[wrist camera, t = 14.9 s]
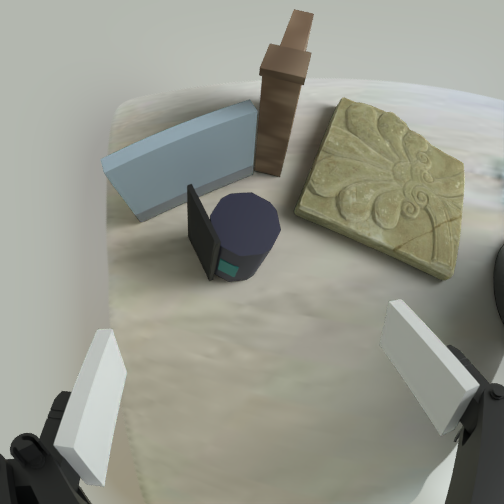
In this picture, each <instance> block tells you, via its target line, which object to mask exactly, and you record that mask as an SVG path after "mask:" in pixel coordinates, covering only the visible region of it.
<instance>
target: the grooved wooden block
mask: <svg viewBox="0 0 504 504" xmlns="http://www.w3.org/2000/svg"><path fill="white" fill-rule="evenodd" d="M313 15H314V14H312V13H308V12H304V11H299V10H294V11H293V13H292V16H291V19H290V21H289V24H288V26H287V29H286V31H285V34H284V37H283V39H282V42H281V44H280V46H279V45H274V44H270V45H269V47H268V49H267V52H266V54H265V57H264V59H263V62H262V64H261V66H260V73H259V75H260V76H262V85H261V97H260V109H259V120H258V132H257V144H256V156H255V168H254V171H259V172H263V173H267V174H271V175H275V176H279V177H280V175H281V171H282V167H283V163H284V159H285V155H286V151H287V147H288V142H289V138H290V134H291V129H292V125H293V121H294V116H295V112H296V108H297V103H298V99H299V95H300V90H301V86H302V85H304V82H305V78H306V74H307V70H308V66H309V62H310V57H311V53H310V52H306V48H307V44H308V39H309V34H310V29H311V25H312V20H313Z"/></svg>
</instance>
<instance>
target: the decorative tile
mask: <svg viewBox="0 0 504 504" xmlns="http://www.w3.org/2000/svg"><path fill="white" fill-rule="evenodd" d="M464 180H465V176H464V164H463V163H462V162H461V161H459V160H457V159H456V158H454V157H452V156H450V155H448V154H446V153H444V152H443V151H441V150H439V149H438V148H436V147H434V146H433V145H431V144H430V143H429V142H428V141H427V140H425V138H424V137H423V136H421V135H420V134H418V133H416V132H414V131H411V130H410V129H409V128H408V126H407V124H406V123H405V122H404V121H402V120H401V119H400V118H399V117H398V116H397V115H396V114H394V113H393V112H385V111H383V110H380V109H378V108H376V107H373V106H371V105H367V104H364V103H356V102H354V101H351V100H349V99H347V98H345V97H344V98H342V99H341V100H340V102H339V103H338V105H337V107H336V109H335V111H334V114H333V116H332V118H331V121H330V123H329V125H328V128H327V130H326V133H325V135H324V137H323V140H322V142H321V145H320V147H319V150H318V152H317V155H316V157H315V160H314V162H313V165H312V167H311V170H310V172H309V175H308V177H307V180H306V182H305V185H304V188H303V190H302V193H301V195H300V198H299V200H298V202H297V205H296V207H295V210H294V212H295V215H297V216H299V217H302V218H304V219H306V220H309V221H311V222H313V223H316V224H318V225H321V226H323V227H325V228H328V229H330V230H332V231H334V232H337V233H339V234H342V235H344V236H346V237H348V238H351V239H353V240H355V241H358V242H360V243H362V244H364V245H367V246H369V247H371V248H373V249H376V250H378V251H380V252H382V253H385V254H387V255H389V256H391V257H393V258H396V259H398V260H400V261H402V262H404V263H406V264H409V265H411V266H413V267H415V268H417V269H419V270H421V271H423V272H425V273H428V274H430V275H432V276H434V277H436V278H438V279H440V280H447V279H450V278H451V277H452V276H453V274H454V268H455V265H456V259H457V253H458V247H459V241H460V231H461V221H462V209H463V197H464Z"/></svg>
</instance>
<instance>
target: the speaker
mask: <svg viewBox="0 0 504 504" xmlns="http://www.w3.org/2000/svg"><path fill="white" fill-rule="evenodd" d="M187 209H188V237H189V239H190V241H191V243H192V245H193V248H194V250H195V252H196V254H197V256H198V258H199V260H200V262H201V264H202V266H203V269H204V271H205V273H206V275H207V277H208V279H209V281H211V280H213V278H214V274H216V275H218V276H219V277H221V278H223V279H225V280H227V281H229V282H231V281H240V280H247V279H248V278H250V277H251V276H253V275H254V274H255V272H256V271H257V269H258V268H259V266H260V265H261V263H262V262H263V260H264V259H265V257H266V256H267V254H268V253H269V251H270V250H271V248H272V247H273V245H274V243H275V241H276V239H277V237H278V235H279V233H280V231H281V228H280V224H279V219H278V214H277V210H276V209H275V208H274V207H273V205H272V204H271V203H270V202H269V201H267V200H265V199H263V198H261V197H259V196H257V195H255V194H253V193H234V194H229V195H227V196H225V197H223V198H222V199H221V200H220V201H219V203H218V204H217V206H216V207H215V209H214V211H213V212H212V214H211V215H210V219H209V217H208V215H207V213H206V211H205V209H204V207H203V205H202V203H201V201H200V199H199V197H198V195H197V193H196V191H195V189H194V187H193V185H192V184H190V185H187Z"/></svg>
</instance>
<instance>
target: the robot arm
mask: <svg viewBox="0 0 504 504" xmlns="http://www.w3.org/2000/svg"><path fill="white" fill-rule="evenodd" d="M494 290H495V298H496V303H497V307H498V311H499V314H500V317H501V319H502V321H503V323H504V245H503V246H502V248H501V250H500V252H499V254H498V257H497V260H496V264H495V271H494ZM379 345H380V347H381V348H382V349H383V351H384V352H385V354H386V355H387V356H388V358H389V359H390V361H391V362H392V364H393V365H394V367H395V368H396V369H397V371H398V372H399V374H400V375H401V377H402V378H403V380H404V381H405V383H406V384H407V386H408V387H409V388H410V390H411V391H412V393H413V394H414V396H415V397H416V399H417V400H418V402H419V403H420V405H421V406H422V408H423V409H424V411H425V412H426V414H427V416H428V417H429V419H430V420H431V422H432V423H433V425H434V426H435V428H436V429H437V431H438V433H439V434H440V436H441V435H444V434H446V433H448V432H450V431H452V430H454V429H455V428H456V426H457V424H458V423H459V421H460V422H461V423H462V425H463V426H462V428H461V430H460V431H459V433H458V434H457V436H456V437H455V439H454V442H456V441H457V439H458V438H459V443H458V449H457V454H456V459H455V464H454V469H453V474H452V478H451V482H450V486H449V490H448V494H447V498H446V501H445V504H504V387H503V386H502V385H500V384H497V383H492V384H489V383H488V382H487V380H486V379H485V378H484V377H483V376H482V375H481V374H480V373H479V371H478V370H477V369H476V368H475V367H474V366H473V365H472V364H471V362H470V361H469V360H468V359H466V357H465V356H464V355H463V354H462V353H461V352H460V350H458V349H456V348H455V347H453V346H451V345H448V346H445V345H444V344H443V343H442V341H441V340H440V339H439V338H438V337H437V336H436V335H435V334H434V333H433V332H432V331H431V330H430V329H429V327H428V326H427V325H426V324H425V323H424V322H423V321H422V320H421V319H420V318H419V317H418V316H417V315H416V314H415V313H414V312H413V311H412V310H411V309H410V307H409V306H408V305H407V304H406V303H405V302H404V301H403V300H402V299H399V300H393V301H389V303H388V308H387V313H386V317H385V322H384V327H383V331H382V336H381V340H380V344H379ZM126 375H127V371H126V368H125V366H124V363H123V360H122V357H121V354H120V351H119V348H118V345H117V342H116V339H115V335H114V332H113V329H98V330H97V332H96V334H95V336H94V339H93V341H92V343H91V345H90V348H89V350H88V352H87V355H86V357H85V360H84V362H83V365H82V367H81V370H80V372H79V375H78V377H77V380H76V382H75V385H74V388H73V390H72V392H67V391H62V392H61V393H60V394H59V395H58V396H57V397H56V398H55V399H54V402H53V404H52V407H51V411H50V412H49V414H48V419H47V420H46V422H45V425H44V428H43V430H42V433H41V436H40V439H39V438H38V437H37V436H36V435H34V434H32V433H24V434H21V435H19V436H17V437H16V438H15V439H14V440H13V442H12V443H11V447H10V452H11V455H12V456H13V457H14V458H15V459H5V458H4V457H3V456H2V455H1V454H0V504H91V502H90V501H89V499H88V498H87V496H86V495H85V493H84V492H83V490H82V489H81V487H80V486H79V481H80V478H81V479H82V480H83V481H84V482H85V483H86V484H89V485H95V486H103V487H104V486H105V479H106V473H107V467H108V461H109V456H110V450H111V445H112V440H113V434H114V429H115V424H116V420H117V415H118V410H119V406H120V401H121V397H122V392H123V388H124V384H125V380H126Z"/></svg>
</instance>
